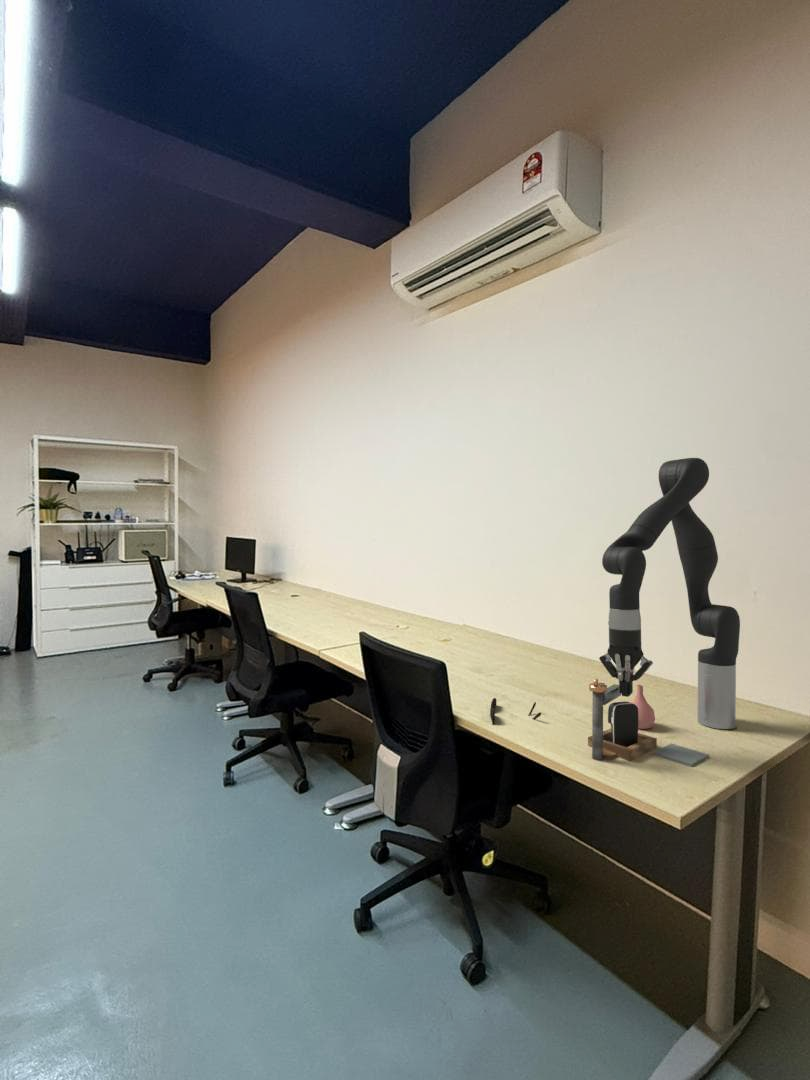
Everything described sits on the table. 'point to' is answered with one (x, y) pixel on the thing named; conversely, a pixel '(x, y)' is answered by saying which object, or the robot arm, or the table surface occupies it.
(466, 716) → the table surface
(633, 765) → the table surface
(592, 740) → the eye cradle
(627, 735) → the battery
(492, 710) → the thin black curved strips
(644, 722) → the pink vase
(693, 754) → the pad
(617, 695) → the bar
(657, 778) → the table surface
